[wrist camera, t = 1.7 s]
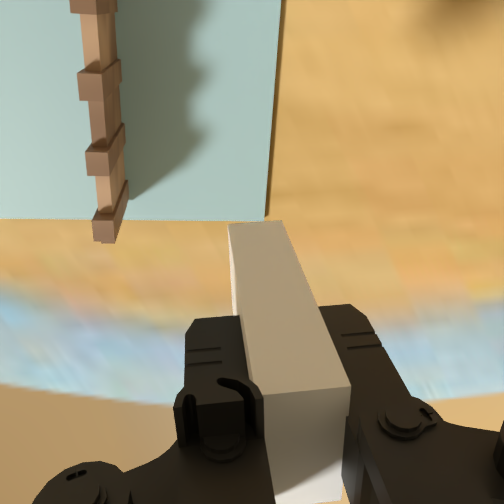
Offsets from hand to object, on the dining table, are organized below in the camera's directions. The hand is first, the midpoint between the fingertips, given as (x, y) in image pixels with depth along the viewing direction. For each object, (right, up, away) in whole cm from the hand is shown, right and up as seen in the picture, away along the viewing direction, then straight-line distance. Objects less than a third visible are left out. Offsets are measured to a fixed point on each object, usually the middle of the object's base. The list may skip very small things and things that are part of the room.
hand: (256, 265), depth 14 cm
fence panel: (-7, +8, +10) cm, 14 cm away
